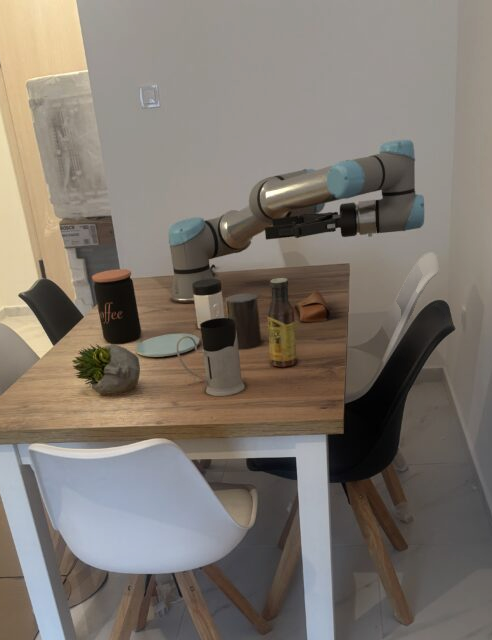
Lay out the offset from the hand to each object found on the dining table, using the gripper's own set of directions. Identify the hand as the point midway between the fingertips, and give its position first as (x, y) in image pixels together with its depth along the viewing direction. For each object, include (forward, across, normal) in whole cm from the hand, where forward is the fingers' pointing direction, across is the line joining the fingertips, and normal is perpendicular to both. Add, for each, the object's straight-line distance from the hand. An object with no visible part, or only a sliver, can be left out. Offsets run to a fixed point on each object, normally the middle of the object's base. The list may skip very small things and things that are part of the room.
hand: (269, 228), depth 187 cm
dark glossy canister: (+9, -3, -27) cm, 29 cm away
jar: (+22, +16, -26) cm, 38 cm away
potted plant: (+36, -34, -28) cm, 56 cm away
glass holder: (+11, -36, -28) cm, 47 cm away
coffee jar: (+46, +8, -26) cm, 53 cm away
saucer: (+30, -3, -27) cm, 40 cm away
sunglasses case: (-6, +22, -27) cm, 35 cm away
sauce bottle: (-3, -20, -28) cm, 35 cm away
